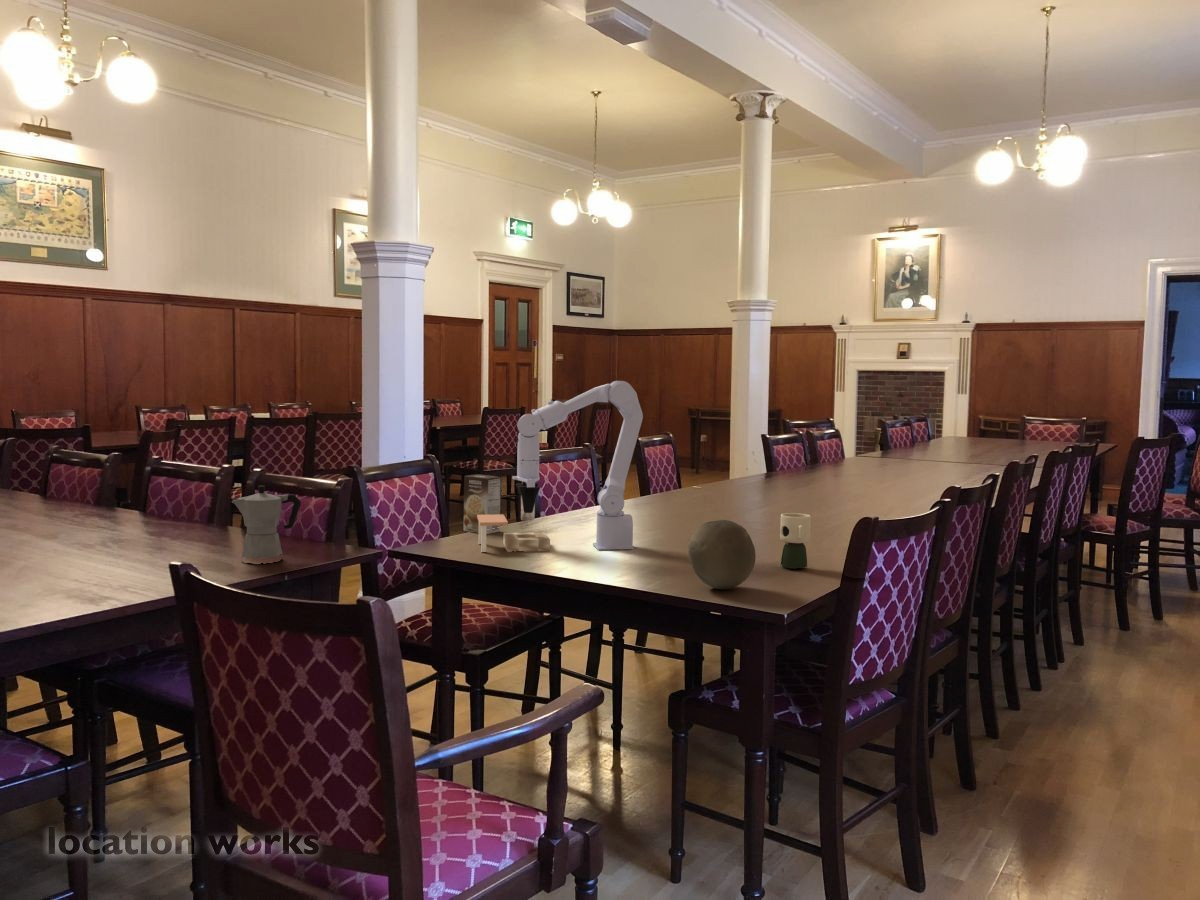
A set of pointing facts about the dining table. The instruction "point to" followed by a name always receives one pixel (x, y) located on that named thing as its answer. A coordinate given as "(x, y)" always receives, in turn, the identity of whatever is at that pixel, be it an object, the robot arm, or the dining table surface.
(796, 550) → the character mug
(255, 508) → the coffeepot
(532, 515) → the peg
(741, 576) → the cantaloupe
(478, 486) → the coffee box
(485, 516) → the peach and white stand
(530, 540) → the socket block
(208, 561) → the dining table surface
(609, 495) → the robot arm
